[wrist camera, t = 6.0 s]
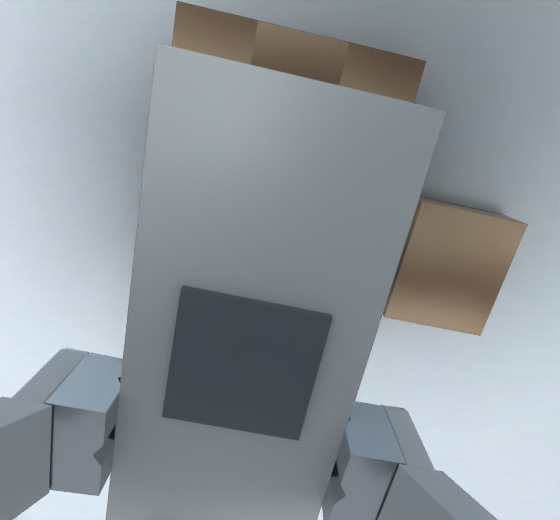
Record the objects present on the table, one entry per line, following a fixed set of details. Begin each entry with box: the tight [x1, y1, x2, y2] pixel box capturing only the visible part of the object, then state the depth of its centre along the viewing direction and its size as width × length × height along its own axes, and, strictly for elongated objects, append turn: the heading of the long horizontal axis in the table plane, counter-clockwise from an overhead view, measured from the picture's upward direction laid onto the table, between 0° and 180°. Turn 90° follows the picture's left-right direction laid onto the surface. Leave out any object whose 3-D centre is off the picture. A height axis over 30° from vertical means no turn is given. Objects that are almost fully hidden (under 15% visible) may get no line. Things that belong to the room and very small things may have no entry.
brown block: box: [383, 197, 528, 336], centre depth 23 cm, size 7×6×2 cm
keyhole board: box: [172, 1, 426, 103], centre depth 23 cm, size 24×12×2 cm, turn 168°
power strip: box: [106, 43, 447, 520], centre depth 10 cm, size 14×4×6 cm, turn 168°
